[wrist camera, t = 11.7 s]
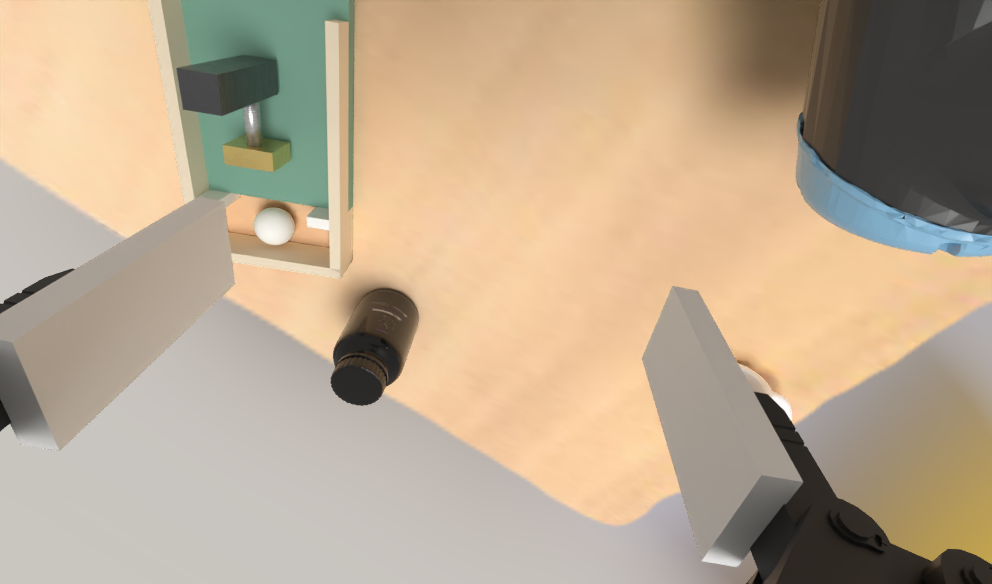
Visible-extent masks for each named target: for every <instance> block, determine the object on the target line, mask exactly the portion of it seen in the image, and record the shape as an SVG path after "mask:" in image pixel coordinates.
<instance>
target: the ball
mask: <svg viewBox="0 0 992 584" xmlns="http://www.w3.org/2000/svg"><path fill="white" fill-rule="evenodd" d="M254 230H255V233H256V234H257V236H258V237H259V238H260V239H261V240H262V241H263V242H265V243H267V244H271V245H280V244H283V243H286V242H287V241H288V240H290V239H291V237H292V236H293V234H294V230H295V224H294V221H293V218H292V217H291V215H290V214H289V213H288V212H286V211H285V210H283V209H280V208H276V207H271V208H266V209H264V210H262V211H261V212H260V213H259V214H258V215H257V216H256V218H255V221H254Z"/></svg>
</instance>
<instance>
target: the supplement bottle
mask: <svg viewBox="0 0 992 584" xmlns="http://www.w3.org/2000/svg"><path fill="white" fill-rule="evenodd" d="M417 326H418V313H417V310H416V308H415V306H414V304H413V303H412V302H411V301H410V300H409V299H408V298H407V297H406V296H404V295H403V294H401V293H399V292H396V291H393V290H384V289H383V290H376V291H373V292H370V293H369V294H367V295H366V296H364V297H363V298H362V300H361V301H360V303H359V304H358V306H357V307H356V309H355V311H354V313H353V315H352V316H351V318H350V320H349V322H348V323H347V325H346V327H345V329H344V330H343V332H342V334H341V336H340V338H339V339H338V341H337V343H336V345H335V347H334V351H333V360H334V364H335V370H334V372H333V374H332V377H331V384H332V385H331V387H332V388H333V391H334V392H335V394H336V395H338V397H339V398H341V399H342V400H344V401H346V402H347V403H351V404H355V405H361V406H363V405H368V404H372V403H374V402H375V401H377V400H378V399H379V398H380V397H381V396H382V393H383V391H384V389H385V387H386V386H388V385H390V384H392V383H393V382H394V381H396V380H397V379H398V377H399V376H400V374H401V372H402V370H403V367H404V364H405V362H406V359H407V356H408V353H409V350H410V347H411V344H412V341H413V338H414V335H415V332H416V329H417Z"/></svg>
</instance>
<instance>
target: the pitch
mask: <svg viewBox="0 0 992 584" xmlns="http://www.w3.org/2000/svg"><path fill="white" fill-rule="evenodd" d="M147 1H148V7H149V12H150V18H151V23H152V29H153V34H154V40H155V45H156V51H157V56H158V62H159V67H160V73H161V79H162V84H163V90H164V95H165V101H166V106H167V112H168V117H169V123H170V128H171V134H172V140H173V145H174V151H175V156H176V162H177V167H178V173H179V178H180V184H181V189H182V195H183V201H184V205H185V204H187V203H188V202H190V201H192V200H193V199H195V198H197V197H201V198H207V199H212V200H217V201H223V202H225V208H226V207H227V206H229V205H230V204H231V203H233V202H234V201H236V200H237V199H238V198H240V194H241V195H247V196H253V197H260V198H266V199H272V200H278V201H284V202H290V203H297V204H303V205H309V206H315V207H316V208H315V209H314V210H313V211H312V212H311V213H310V214H309V215H308V216H307V227H311V228H317V229H324V230H329V248H326V247H320V246H314V245H307V244H301V243H295V242H288V241H287V242H286V243H283V244H280V245H271V244H267V243H265V242H263V241H262V240H261V239H260V238H259V237H257V236H250V235H244V234H238V233H231V232H229V240H230V248H231V256H232V262H234V263H240V264H247V265H253V266H260V267H266V268H273V269H279V270H285V271H292V272H298V273H305V274H311V275H318V276H324V277H331V278H337V279H341V277H342V276H343V274H344V273H345V271H346V270H347V268H348V266H349V265H350V263H351V262H352V258H353V119H354V0H147ZM239 55H249V56H254V57H260V58H266V59H272V60H276V68H277V83H278V94H277V95H275V96H272V97H270V98H267V99H265V100H262V101H260V102H259V109H260V120H261V132H262V138H268V139H274V140H280V141H286V142H290V152H291V160H290V161H289V162H288V163H286V164H285V165H283V166H282V167H280V168H279V169H278V170H276V171H275V172H269V171H263V170H257V169H251V168H244V167H238V166H232V165H226V164H225V161H224V154H223V146H222V145H223V144H225V143H227V142H229V141H231V140H234V139H236V138H238V137H240V136H242V135H246V133H245V123H244V114H243V108H242V109H239V110H237V111H234V112H231V113H229V114H226V115H224V116H218V115H212V114H206V113H200V112H194V111H189V110H183V106H182V100H181V94H180V88H179V82H178V76H177V70H176V68H178V67H183V66H188V65H193V64H198V63H203V62H208V61H213V60H219V59H224V58H229V57H234V56H239Z"/></svg>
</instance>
